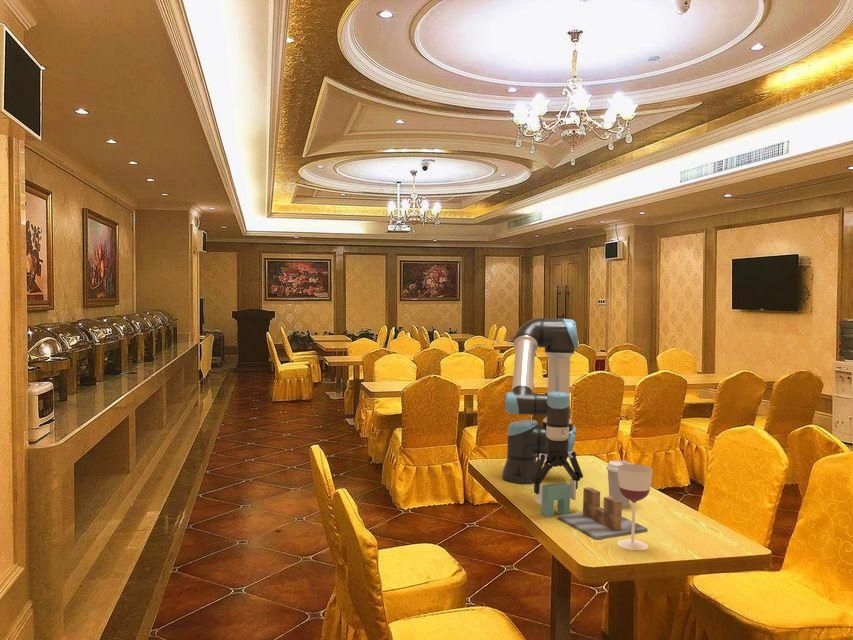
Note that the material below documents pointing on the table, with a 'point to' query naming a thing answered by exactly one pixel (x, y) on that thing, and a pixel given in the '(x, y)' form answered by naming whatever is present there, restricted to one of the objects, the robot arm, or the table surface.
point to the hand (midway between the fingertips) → (555, 501)
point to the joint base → (600, 517)
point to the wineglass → (634, 495)
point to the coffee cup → (616, 482)
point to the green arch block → (555, 498)
